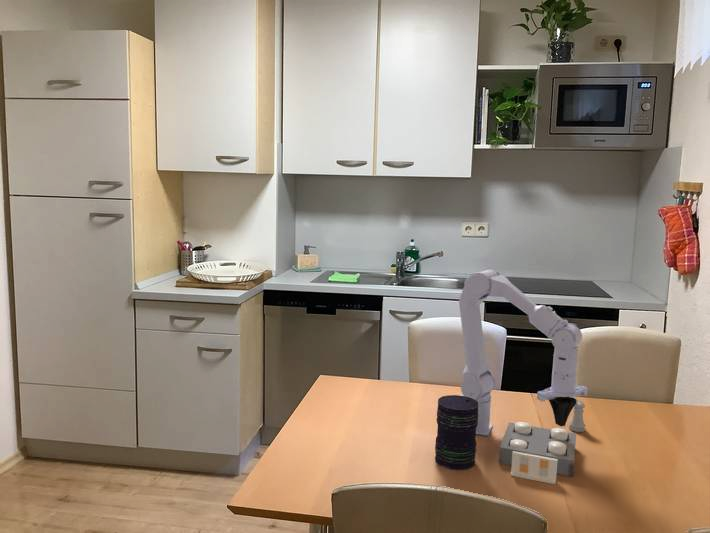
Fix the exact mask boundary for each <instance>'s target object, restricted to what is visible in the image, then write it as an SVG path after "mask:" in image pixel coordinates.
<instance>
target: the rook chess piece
mask: <svg viewBox="0 0 710 533" xmlns="http://www.w3.org/2000/svg"><path fill="white" fill-rule="evenodd" d="M576 400H577V399H576ZM584 403H585V402H584V401H582V400H579V399H578V400H577V403H576V405H575V406H574V407H573V409H572V411H573V413H572V414H573V415H572V418H571V420H570V421H569V423H568V424H569V425H568V428H569V430H570V431H571V432H573V433H574V432H575V433H584V432H585V431H586V423H585V421H584V417H583V416H584V414H583V413H584V412H585V410H584V408H585V407H586V405H585V404H584Z"/></svg>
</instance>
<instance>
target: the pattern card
mask: <svg viewBox="0 0 710 533" xmlns="http://www.w3.org/2000/svg"><path fill="white" fill-rule="evenodd" d="M557 461H558V459H553V458H548V457H542V456H537V455H532V454H526V453H521V452H515V451H513V452H512V465H510V466H511V467H510V468H511V469H510V475H509V476H511V477H517V478H521V479H527V480H532V481H535V482H542V483H547V484H552V485H556V483H557V475H558V474H557Z"/></svg>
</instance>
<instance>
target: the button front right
mask: <svg viewBox="0 0 710 533" xmlns="http://www.w3.org/2000/svg"><path fill="white" fill-rule="evenodd" d="M547 453H551V454H556V455H562V456H567V453H566V445H565V444H564V443H562V442H557V441H552V442H549V447H548V449H547Z"/></svg>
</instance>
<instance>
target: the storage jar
mask: <svg viewBox="0 0 710 533" xmlns="http://www.w3.org/2000/svg"><path fill="white" fill-rule="evenodd" d="M459 395H460V394H458V395H456V394H452V395H443V396H441V397H439V398H437V399H438V400H437V409H436V424H437V432H436V437H435V445H434V452H435V457H434V461H435V463H436V464H437V465H439V466H440V467H442V468H444V469H447V470H451V471H452V470H453V471H465V470H469V469H473V467H474V466H476V455H477V440H476V437H477V436H476V435H477V434H476V428H477V425H478V402H477V401H476V400H474V399H472V398H469V397H466V396H459Z"/></svg>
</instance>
